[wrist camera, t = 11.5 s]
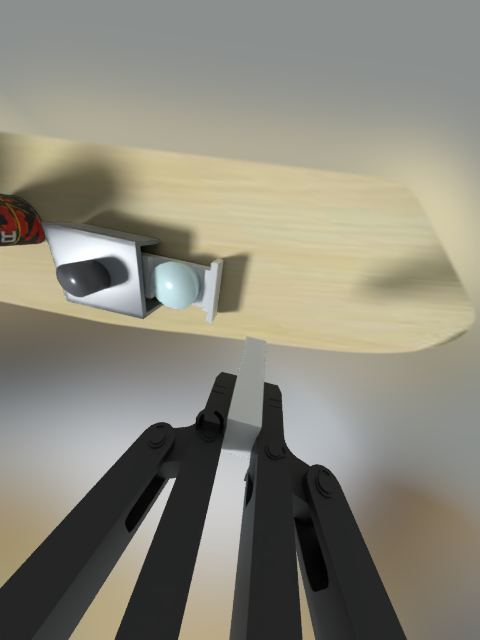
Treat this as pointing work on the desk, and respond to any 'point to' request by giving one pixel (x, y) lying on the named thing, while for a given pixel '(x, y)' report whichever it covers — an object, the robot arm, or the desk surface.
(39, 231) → the deodorant
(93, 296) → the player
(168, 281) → the pale blue flat dome
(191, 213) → the desk surface
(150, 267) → the tray
